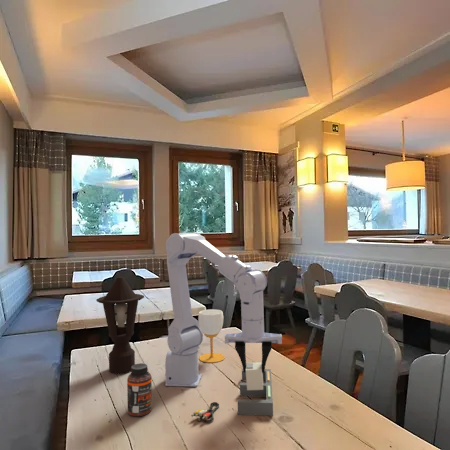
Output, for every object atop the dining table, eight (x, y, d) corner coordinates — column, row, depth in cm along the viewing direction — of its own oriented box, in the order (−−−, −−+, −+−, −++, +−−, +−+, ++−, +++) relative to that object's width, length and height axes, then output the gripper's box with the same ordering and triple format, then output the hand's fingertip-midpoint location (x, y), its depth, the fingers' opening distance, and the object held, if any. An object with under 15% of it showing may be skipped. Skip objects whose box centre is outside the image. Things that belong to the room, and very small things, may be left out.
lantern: (140, 358, 127) (138, 273, 127) (150, 372, 114) (148, 278, 114) (95, 365, 121) (93, 276, 121) (101, 382, 107) (98, 282, 107)
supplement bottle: (139, 420, 86) (138, 372, 86) (122, 413, 89) (121, 367, 89) (157, 409, 91) (156, 364, 91) (140, 403, 94) (139, 360, 94)
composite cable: (213, 404, 93) (212, 395, 93) (229, 409, 90) (228, 399, 90) (190, 422, 85) (190, 412, 85) (207, 428, 82) (206, 417, 82)
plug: (247, 390, 90) (245, 369, 90) (247, 381, 95) (246, 361, 95) (263, 389, 89) (261, 368, 89) (263, 381, 94) (261, 360, 94)
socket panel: (237, 414, 87) (237, 400, 87) (242, 378, 107) (242, 367, 107) (273, 415, 86) (272, 401, 86) (270, 379, 107) (270, 367, 107)
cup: (229, 356, 127) (228, 310, 127) (215, 364, 119) (214, 316, 119) (208, 351, 131) (207, 308, 132) (193, 360, 124) (192, 313, 124)
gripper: (222, 321, 89) (224, 376, 89) (282, 322, 88) (283, 377, 87) (225, 314, 96) (226, 365, 96) (280, 314, 95) (281, 366, 94)
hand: (253, 370), depth 92 cm, fingers closed on plug, 4 cm apart
